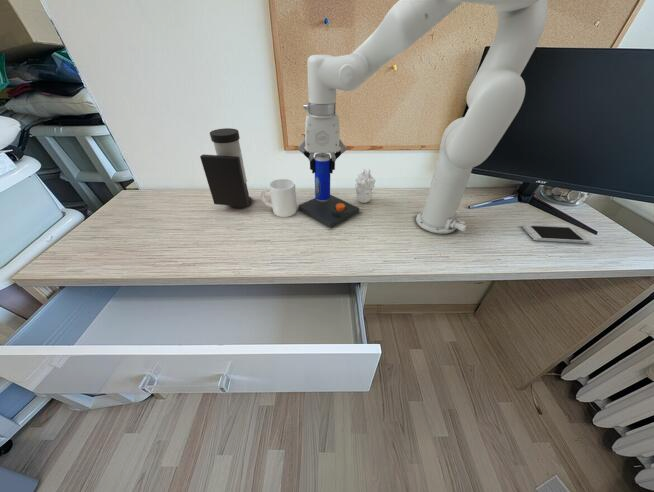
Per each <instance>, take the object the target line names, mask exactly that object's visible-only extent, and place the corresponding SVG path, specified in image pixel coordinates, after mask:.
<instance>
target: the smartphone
mask: <svg viewBox="0 0 654 492" xmlns="http://www.w3.org/2000/svg"><path fill="white" fill-rule="evenodd" d="M522 229H524V231H525V232H526V233H527V234H528V235H529V237H531V239H533V241H542V242H558V243H559V242H562V243H576V244H577V243H578V244H588V243H589V241H590V239H588V238H587V237H586V236H585V235H583V234H582V233H581V232H580V231H579V230H578V229H577V228H576V227H570V226H549V225H530V224H529V225H528V224H527V225H526V224H524V225H523V226H522Z"/></svg>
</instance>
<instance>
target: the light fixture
mask: <svg viewBox="0 0 654 492" xmlns="http://www.w3.org/2000/svg"><path fill="white" fill-rule="evenodd" d="M209 136H210V141H211V142H212V143H213V146H214V149H215V154H201V155H200V156H199V159H200V161H201V165H202V168H203V171H204V175H205V178H206V182H207V185H208V188H209V191H210V194H211V197H212V200H213V204H214V205H219V206H220V205H221V206H229V208H231V209H237V210H238V209H245V208H248V207H249V206H251V205H252V203H253V200H252V197H251V196H250V195H249V190H248V184H247V182H248V179H247V174H246V170H245V164H244V159H243V154H242V148H241V145H240V139H241V137H240V132H239V130H238V129H236V128H230V127H224V128H217V129H213V130H211V131H210V132H209Z"/></svg>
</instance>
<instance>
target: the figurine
mask: <svg viewBox="0 0 654 492" xmlns="http://www.w3.org/2000/svg"><path fill="white" fill-rule="evenodd" d="M355 178H356V179H355V182H356V183H355V184H354V185H355V199H356V201H358V202H359V203H361V204H366V203H368V202H370V201H371V199H372V198H373V189H374V188H375V184H376V179H375V178H374V177H373V176H372V174H371V170H370V169H367V170H366V169H364V168H363V169H362V170H361V172H360V173H358V174H357V176H356V177H355Z"/></svg>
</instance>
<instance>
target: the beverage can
mask: <svg viewBox="0 0 654 492" xmlns="http://www.w3.org/2000/svg"><path fill="white" fill-rule="evenodd" d="M313 157H314V168H315V173H314V198H316V199H317V200H318V201H322V202H323V201H327V200H329V198H330V195H331V173H330V164H331V154H330V153H315V154H314V156H313Z"/></svg>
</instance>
